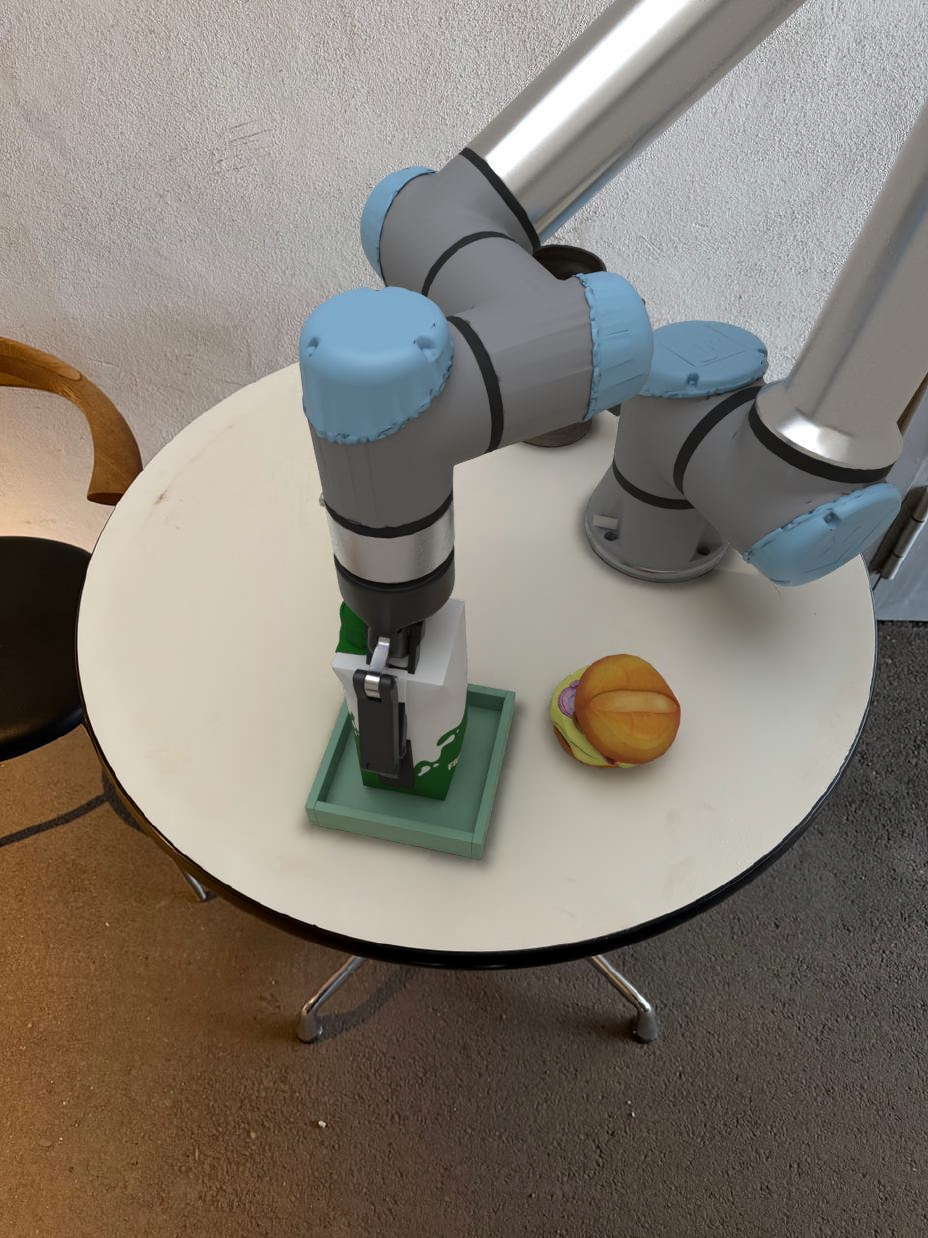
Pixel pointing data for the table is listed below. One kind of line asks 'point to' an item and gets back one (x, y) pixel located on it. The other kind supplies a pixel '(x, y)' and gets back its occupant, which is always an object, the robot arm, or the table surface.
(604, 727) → the cheeseburger
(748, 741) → the table surface
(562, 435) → the beer stein
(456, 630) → the soya milk
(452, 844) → the tray
